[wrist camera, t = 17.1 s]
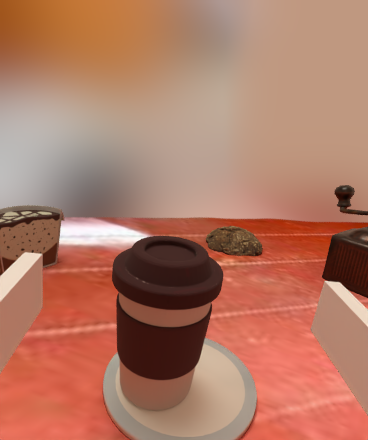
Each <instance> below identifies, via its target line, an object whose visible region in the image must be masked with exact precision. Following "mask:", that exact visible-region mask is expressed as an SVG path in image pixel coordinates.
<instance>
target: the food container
mask: <svg viewBox="0 0 368 440" xmlns="http://www.w3.org/2000/svg"><path fill="white" fill-rule="evenodd" d="M61 220H63V221H64V215H63V213H62V210H61V209H58V208H54V207H48V206H35V205H34V206H33V205H31V206H30V205H27V206H14V207H8V208H3V209H0V276H1V275H2V274H3V273H4V272H5V271H6V270H7V269H8V268H9V267H10V266H11V265H12V264H13V263H14V262H15V261H16V260H17V259H18V258H19V257H20V256H21V255H22V254H24V253H25V252H27V253H38V254H43V268H45V267H48V266H51V265H55V264H57V257H58V247H59V237H60V227H61Z"/></svg>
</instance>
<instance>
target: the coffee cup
mask: <svg viewBox="0 0 368 440" xmlns="http://www.w3.org/2000/svg"><path fill="white" fill-rule="evenodd" d="M112 281H113V284H114V286H115V288H116V289H117V290H118V291H119V293H118V296H117V351H118V356H119V358H120V386H121V389H122V391H123V393H124V395H125V396H126V397H127V399H128V400H129V401H130V402H132V403H133V404H135V405H137V406H139V407H141V408H144V409H147V410H156V411H159V410H166V409H169V408H172V407H174V406H176V405H178V404H179V403H181V402H182V401H183V400H184V399H185V397H186V396H187V394H188V392H189V390H190V387H191V383H192V379H193V375H194V371H195V367H196V365H197V364H198V362H199V359H200V356H201V352H202V348H203V344H204V340H205V336H206V332H207V328H208V324H209V320H210V316H211V311H212V304H211V302H212V301H213V300H214V299H216V298H217V296H218V295H219V293H220V291H221V287H222V281H223V271H222V269H221V267H220V266H219V264H218V263H217V262H216V261H214V260H213V259H212V258H210V257H209V255H208V252H207V251H206V250H205V249H204V248H203V247H202V246H201V245H199V244H197V243H195V242H193V241H190V240H187V239H183V238H179V237H172V236H153V237H147V238H144V239H141V240H139V241H137V242H136V243H135V244H134V245H133V246H132V248H130V249H128V250H126V251H124V252H122V253H120V254H119V255H118V256H117V257H116V258H115V260H114V263H113V272H112Z"/></svg>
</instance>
